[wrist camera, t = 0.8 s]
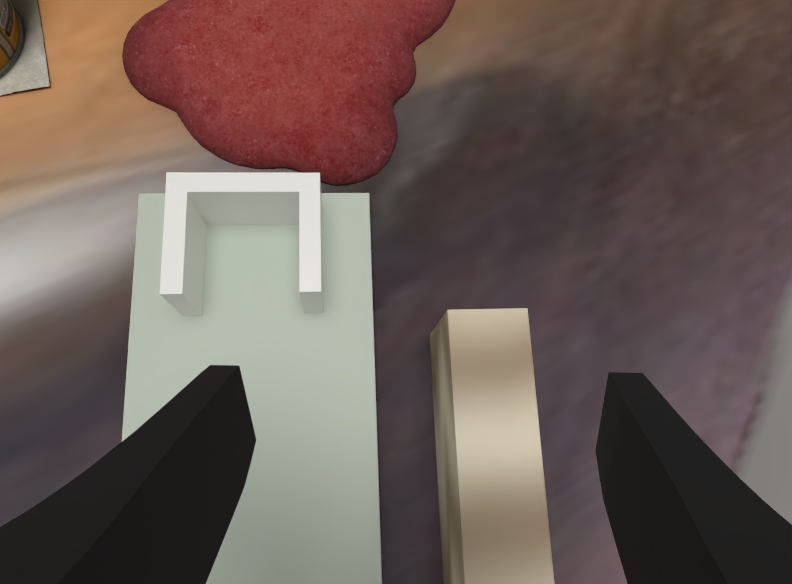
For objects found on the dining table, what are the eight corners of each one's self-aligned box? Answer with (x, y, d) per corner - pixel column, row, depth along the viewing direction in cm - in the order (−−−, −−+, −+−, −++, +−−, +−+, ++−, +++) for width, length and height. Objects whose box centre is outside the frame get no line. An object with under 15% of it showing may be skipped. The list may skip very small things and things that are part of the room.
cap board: (388, 813, 23) (389, 825, 22) (101, 841, 22) (92, 855, 21) (368, 200, 29) (369, 193, 28) (144, 200, 28) (139, 193, 27)
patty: (364, 220, 29) (366, 203, 27) (91, 110, 29) (73, 86, 27) (485, -55, 34) (494, -86, 32) (250, -148, 34) (244, -184, 32)
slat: (529, 745, 24) (577, 818, 19) (451, 752, 24) (480, 827, 19) (495, 334, 28) (527, 308, 23) (428, 336, 28) (447, 310, 23)
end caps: (329, 814, 22) (327, 879, 18) (158, 831, 21) (124, 901, 18) (322, 207, 28) (319, 172, 24) (187, 208, 27) (166, 172, 24)
